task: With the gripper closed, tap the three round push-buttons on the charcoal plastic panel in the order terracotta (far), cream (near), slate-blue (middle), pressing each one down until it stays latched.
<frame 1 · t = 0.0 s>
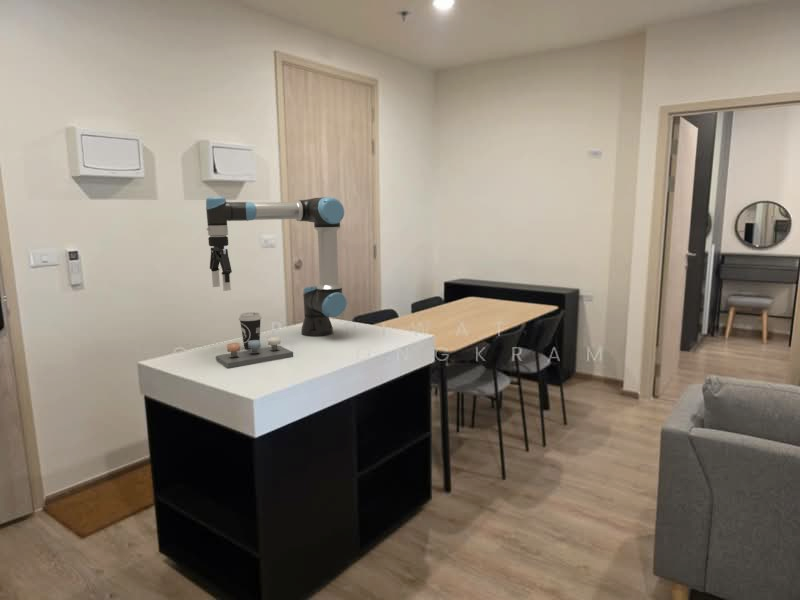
hand: (221, 288, 221), 28 cm above the table, fingers open, 13 cm apart
button blue: (254, 346, 219), point 5 cm above the table, slide at 0.0 cm
button cream: (274, 343, 224), point 5 cm above the table, slide at 0.0 cm
coffee cup: (251, 348, 238), on the table
panel: (255, 358, 220), on the table
button terracotta: (233, 349, 214), point 5 cm above the table, slide at 0.0 cm
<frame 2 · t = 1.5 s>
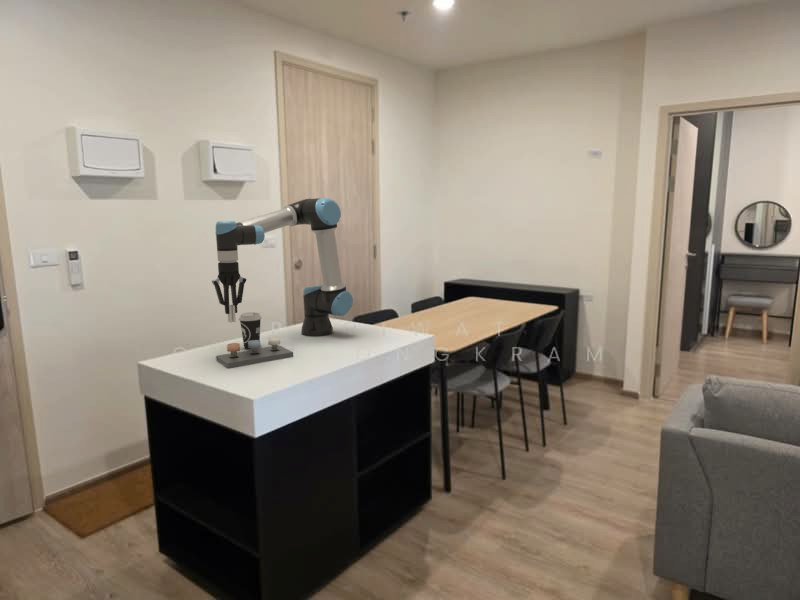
hand: (231, 321, 213), 16 cm above the table, fingers closed
nothing on the table moved.
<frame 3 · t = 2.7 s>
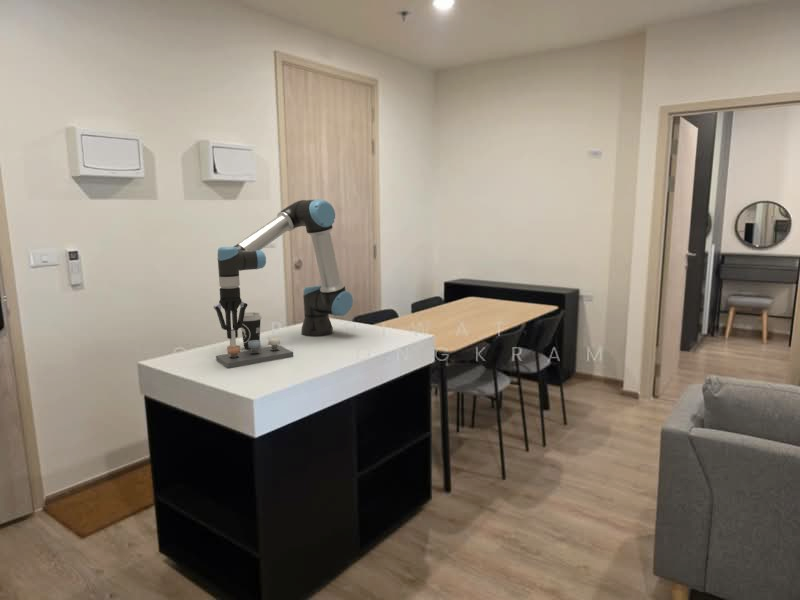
hand: (233, 346, 214), 7 cm above the table, fingers closed
button terracotta: (233, 352, 215), point 4 cm above the table, slide at 0.9 cm, touching gripper
everything else where it was.
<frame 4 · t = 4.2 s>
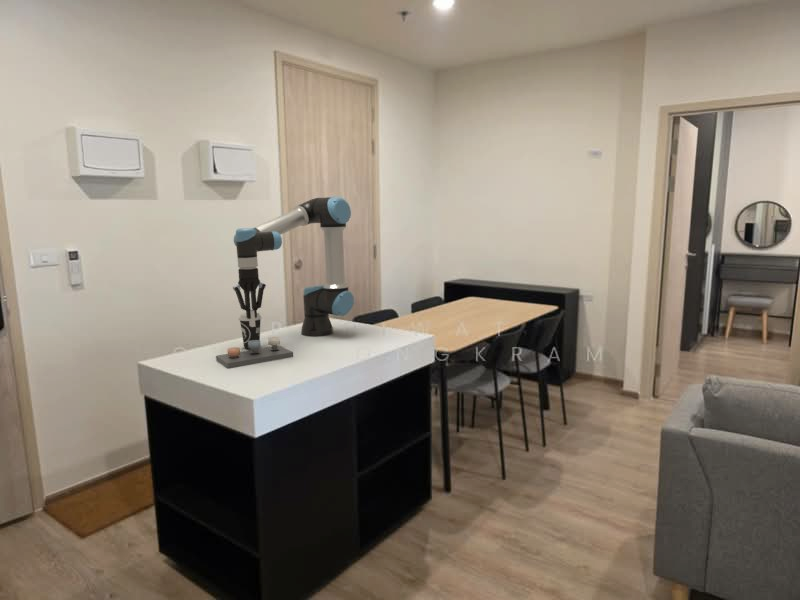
hand: (252, 326, 218), 13 cm above the table, fingers closed
button terracotta: (234, 354, 215), point 3 cm above the table, slide at 1.8 cm
everything else where it was.
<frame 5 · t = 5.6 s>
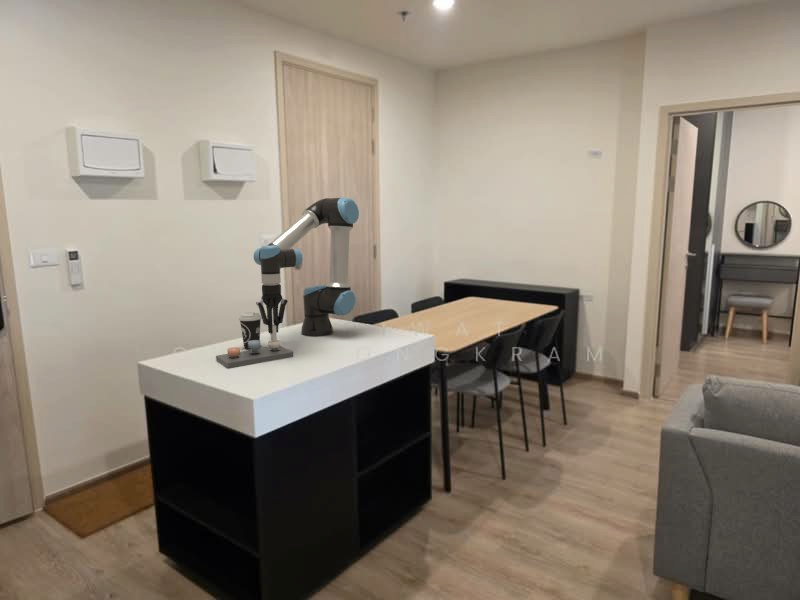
hand: (273, 340, 224), 6 cm above the table, fingers closed
button cream: (274, 346, 224), point 4 cm above the table, slide at 1.3 cm
everything else where it was.
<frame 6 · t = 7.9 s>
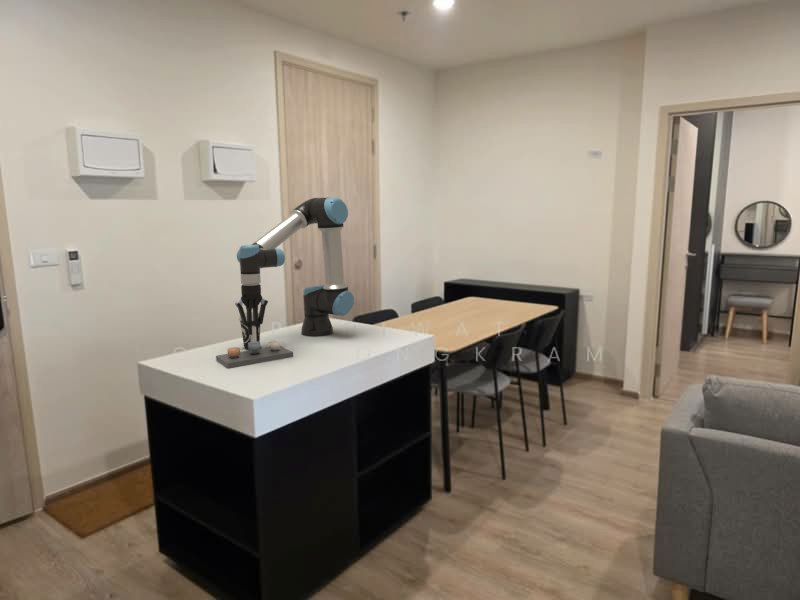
hand: (253, 342, 219), 7 cm above the table, fingers closed
button blue: (254, 347, 219), point 4 cm above the table, slide at 0.6 cm, touching gripper
button cream: (274, 347, 224), point 3 cm above the table, slide at 1.8 cm
everything else where it was.
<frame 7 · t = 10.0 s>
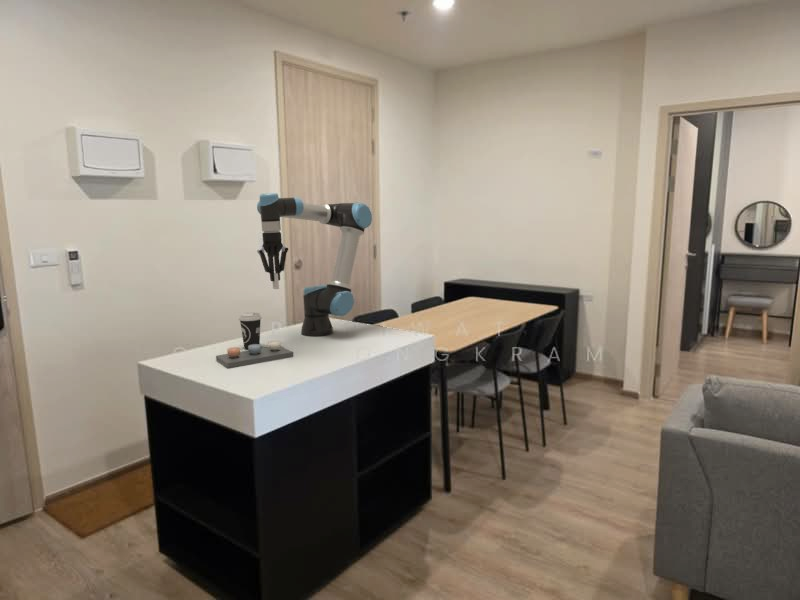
hand: (276, 288, 227), 27 cm above the table, fingers closed
button blue: (254, 350, 220), point 3 cm above the table, slide at 1.8 cm
everything else where it was.
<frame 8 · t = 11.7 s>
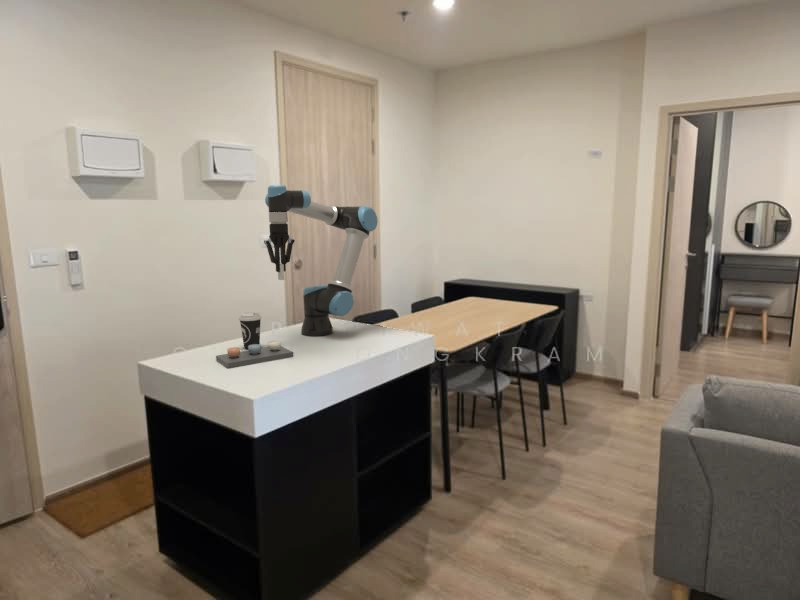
hand: (281, 279, 229), 30 cm above the table, fingers closed
nothing on the table moved.
at the end: button terracotta slide at 1.8 cm; button cream slide at 1.8 cm; button blue slide at 1.8 cm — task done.
